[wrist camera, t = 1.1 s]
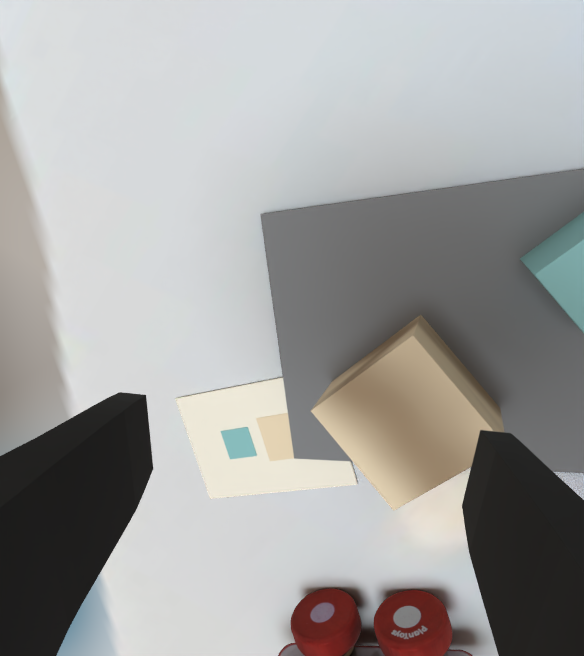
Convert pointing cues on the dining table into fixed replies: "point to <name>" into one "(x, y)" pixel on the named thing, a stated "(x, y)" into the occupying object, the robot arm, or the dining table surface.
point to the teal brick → (562, 268)
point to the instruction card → (252, 443)
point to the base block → (408, 414)
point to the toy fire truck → (389, 624)
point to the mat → (433, 301)
